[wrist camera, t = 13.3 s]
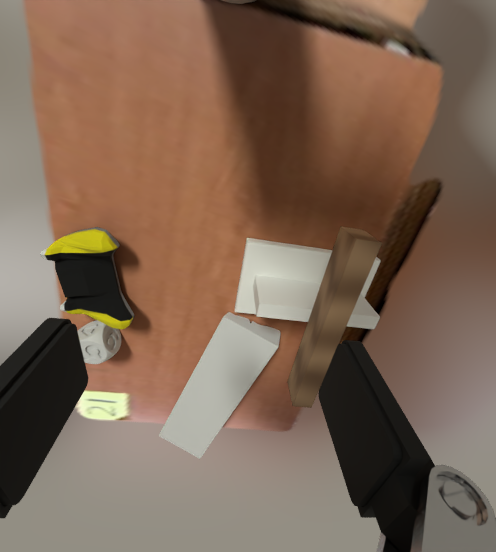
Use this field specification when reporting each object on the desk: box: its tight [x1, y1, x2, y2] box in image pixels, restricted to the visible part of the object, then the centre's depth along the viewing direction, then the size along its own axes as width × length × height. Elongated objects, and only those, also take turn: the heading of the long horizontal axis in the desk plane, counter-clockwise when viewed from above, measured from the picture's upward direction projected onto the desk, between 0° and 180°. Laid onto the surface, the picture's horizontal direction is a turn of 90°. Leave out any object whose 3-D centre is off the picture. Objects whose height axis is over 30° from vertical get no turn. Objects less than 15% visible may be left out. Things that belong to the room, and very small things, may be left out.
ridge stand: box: [235, 238, 381, 329], centre depth 37 cm, size 12×20×9 cm, turn 80°
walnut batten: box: [288, 226, 382, 408], centre depth 32 cm, size 24×3×4 cm, turn 170°
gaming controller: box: [40, 227, 135, 329], centre depth 36 cm, size 15×6×10 cm
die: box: [77, 320, 121, 364], centre depth 42 cm, size 5×5×5 cm
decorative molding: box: [159, 312, 281, 458], centre depth 50 cm, size 34×5×10 cm
